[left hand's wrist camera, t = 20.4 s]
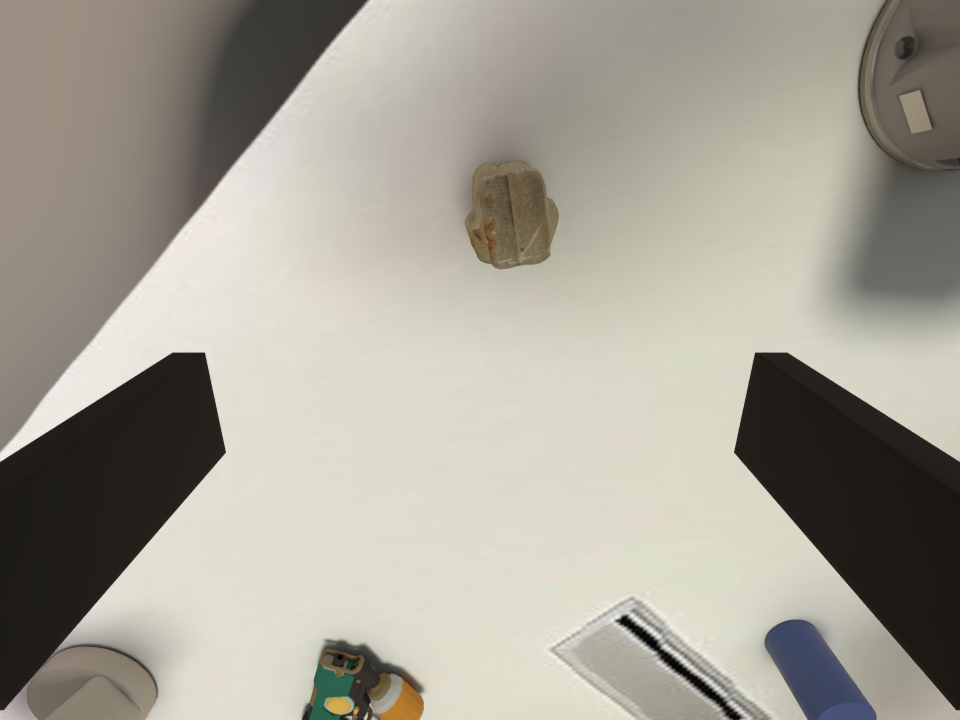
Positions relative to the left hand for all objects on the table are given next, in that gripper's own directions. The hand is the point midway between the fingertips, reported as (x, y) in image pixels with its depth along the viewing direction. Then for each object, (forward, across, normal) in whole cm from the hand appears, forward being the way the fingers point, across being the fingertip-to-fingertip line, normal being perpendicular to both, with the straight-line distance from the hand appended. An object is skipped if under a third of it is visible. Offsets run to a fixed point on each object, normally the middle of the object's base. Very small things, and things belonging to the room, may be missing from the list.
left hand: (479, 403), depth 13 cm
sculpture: (+31, +2, +2) cm, 31 cm away
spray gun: (+31, -15, -54) cm, 64 cm away
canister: (+31, +35, -45) cm, 65 cm away
